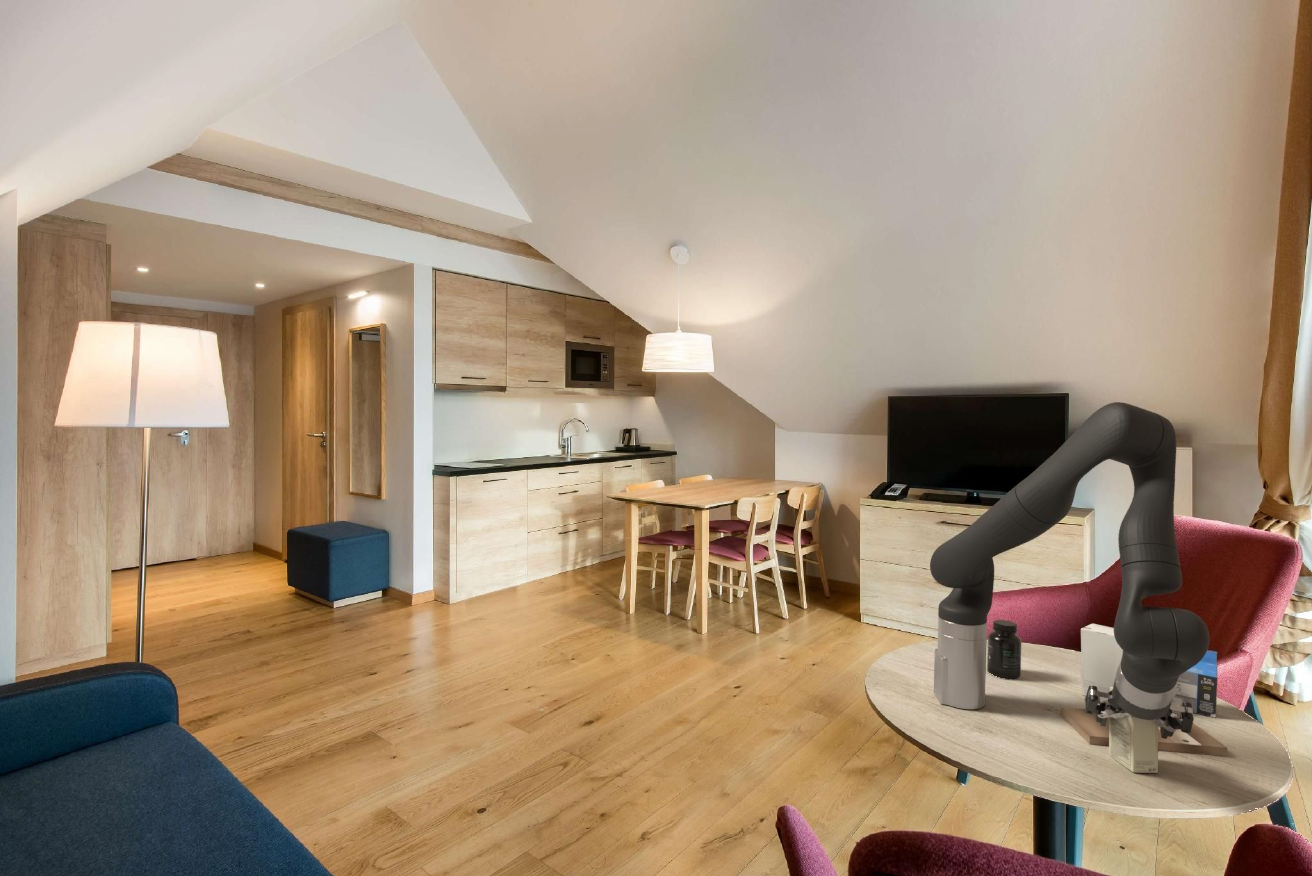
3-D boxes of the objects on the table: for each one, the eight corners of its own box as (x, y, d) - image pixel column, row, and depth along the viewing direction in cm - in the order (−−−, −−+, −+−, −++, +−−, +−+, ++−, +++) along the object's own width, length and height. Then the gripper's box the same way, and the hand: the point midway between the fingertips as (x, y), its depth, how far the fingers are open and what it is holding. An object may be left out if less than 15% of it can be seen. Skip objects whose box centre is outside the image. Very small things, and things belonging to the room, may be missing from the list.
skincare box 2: (1159, 774, 108) (1161, 702, 108) (1132, 773, 108) (1135, 701, 108) (1131, 754, 115) (1133, 685, 114) (1106, 753, 115) (1108, 685, 114)
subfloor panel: (1089, 744, 118) (1089, 735, 118) (1060, 714, 130) (1060, 706, 130) (1227, 756, 114) (1227, 746, 114) (1184, 724, 126) (1184, 715, 126)
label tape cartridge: (1159, 705, 134) (1161, 646, 134) (1160, 699, 137) (1162, 641, 137) (1216, 718, 129) (1218, 657, 128) (1215, 711, 132) (1217, 651, 131)
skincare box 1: (1135, 702, 136) (1138, 632, 135) (1123, 709, 132) (1125, 637, 132) (1091, 688, 143) (1093, 621, 142) (1078, 694, 139) (1080, 626, 139)
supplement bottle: (983, 667, 154) (984, 617, 154) (1014, 669, 153) (1016, 619, 152) (992, 678, 148) (993, 626, 147) (1025, 681, 146) (1026, 628, 146)
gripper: (1199, 671, 101) (1181, 715, 111) (1089, 654, 108) (1082, 697, 118) (1206, 719, 96) (1187, 760, 107) (1090, 697, 103) (1083, 738, 114)
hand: (1132, 726), depth 112 cm, fingers open, 8 cm apart
